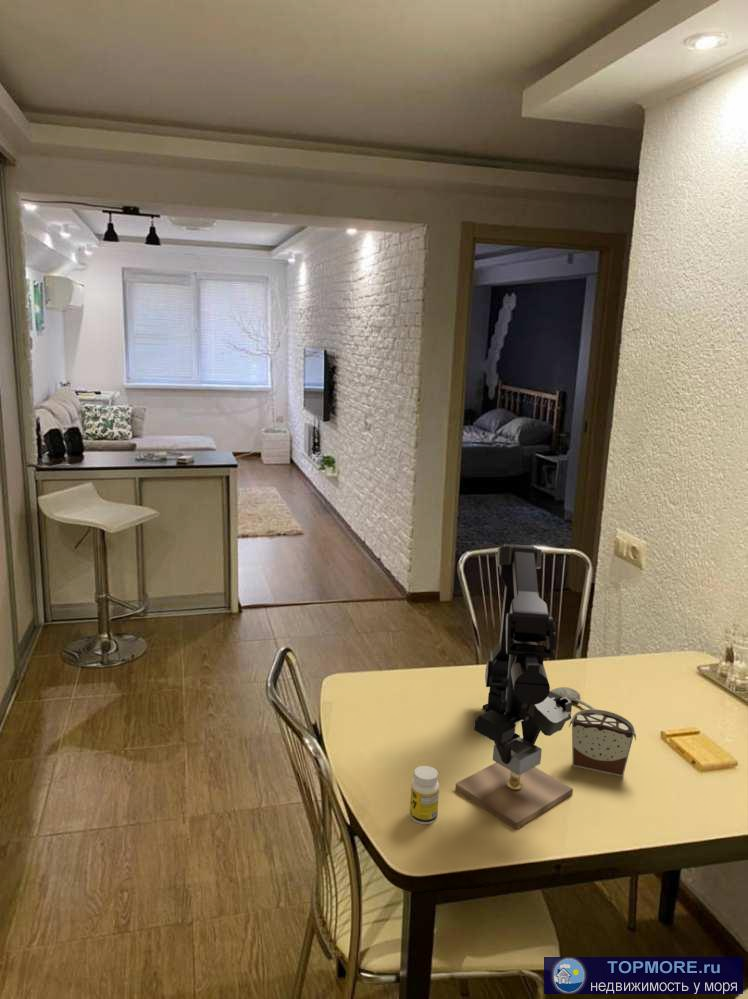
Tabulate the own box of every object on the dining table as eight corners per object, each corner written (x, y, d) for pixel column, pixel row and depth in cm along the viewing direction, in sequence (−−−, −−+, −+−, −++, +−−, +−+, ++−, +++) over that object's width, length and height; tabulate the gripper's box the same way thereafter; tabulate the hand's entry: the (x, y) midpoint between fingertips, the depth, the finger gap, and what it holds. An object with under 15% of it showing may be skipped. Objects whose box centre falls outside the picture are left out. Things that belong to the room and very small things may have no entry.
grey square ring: (513, 749, 135) (515, 734, 134) (540, 763, 130) (541, 748, 130) (492, 760, 131) (493, 745, 130) (519, 775, 127) (520, 760, 126)
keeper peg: (513, 779, 134) (514, 760, 133) (525, 786, 131) (527, 767, 131) (503, 785, 132) (505, 765, 131) (515, 792, 130) (517, 772, 129)
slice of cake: (631, 761, 143) (637, 715, 141) (631, 778, 138) (637, 730, 135) (567, 748, 147) (571, 702, 145) (564, 764, 141) (569, 717, 139)
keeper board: (511, 759, 142) (512, 754, 142) (572, 794, 132) (573, 788, 132) (455, 789, 132) (455, 783, 132) (516, 829, 122) (516, 823, 121)
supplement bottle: (407, 807, 126) (410, 764, 124) (434, 807, 127) (437, 763, 125) (411, 825, 122) (414, 780, 120) (439, 825, 122) (442, 780, 120)
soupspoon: (562, 691, 174) (541, 698, 171) (563, 678, 173) (542, 685, 170) (635, 732, 155) (613, 740, 152) (636, 717, 154) (614, 725, 151)
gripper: (527, 711, 115) (519, 798, 119) (594, 679, 127) (585, 759, 130) (475, 684, 123) (468, 767, 127) (542, 657, 135) (535, 733, 139)
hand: (516, 757), depth 130 cm, fingers closed on grey square ring, 6 cm apart
